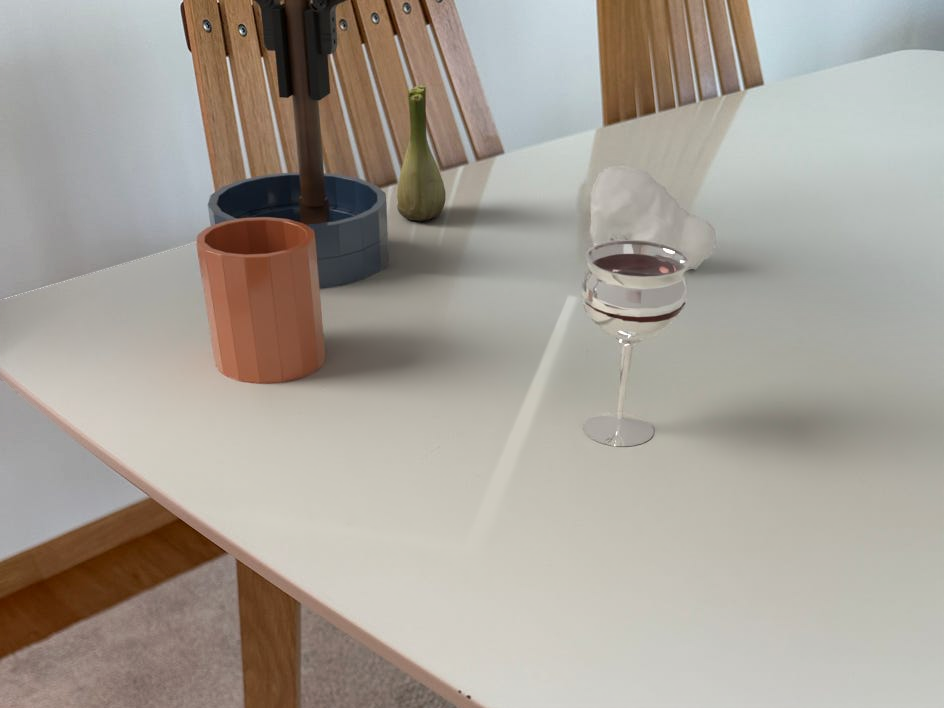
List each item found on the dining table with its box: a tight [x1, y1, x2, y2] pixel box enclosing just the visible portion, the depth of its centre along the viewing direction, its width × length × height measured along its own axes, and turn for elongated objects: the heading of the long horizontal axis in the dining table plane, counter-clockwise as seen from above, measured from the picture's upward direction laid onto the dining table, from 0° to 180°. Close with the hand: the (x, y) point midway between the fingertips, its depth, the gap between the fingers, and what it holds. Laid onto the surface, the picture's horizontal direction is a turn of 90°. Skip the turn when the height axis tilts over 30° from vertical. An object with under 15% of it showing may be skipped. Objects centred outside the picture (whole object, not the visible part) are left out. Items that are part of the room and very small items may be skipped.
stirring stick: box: [283, 0, 330, 225], centre depth 90 cm, size 3×2×20 cm
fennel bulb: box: [396, 85, 447, 222], centre depth 104 cm, size 6×5×12 cm
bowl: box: [207, 172, 390, 290], centre depth 95 cm, size 16×16×6 cm
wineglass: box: [581, 239, 690, 447], centre depth 70 cm, size 7×7×12 cm
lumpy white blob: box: [589, 164, 717, 272], centre depth 95 cm, size 6×8×12 cm
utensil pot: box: [195, 217, 326, 385], centre depth 77 cm, size 8×8×10 cm
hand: (305, 94), depth 89 cm, fingers closed on stirring stick, 2 cm apart
